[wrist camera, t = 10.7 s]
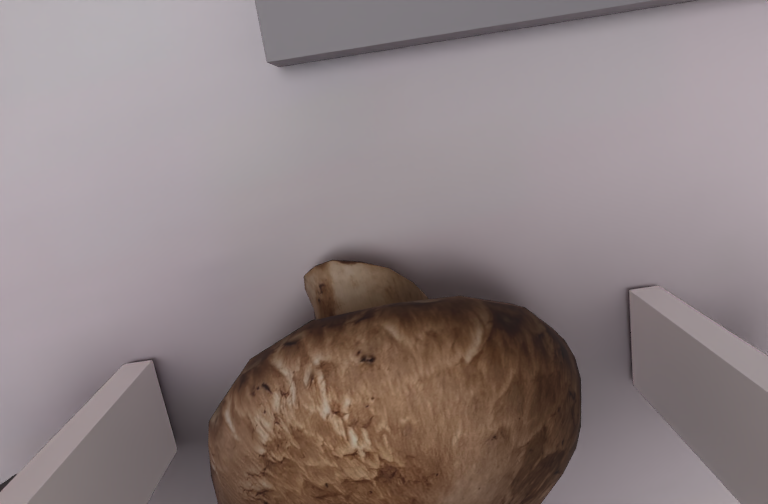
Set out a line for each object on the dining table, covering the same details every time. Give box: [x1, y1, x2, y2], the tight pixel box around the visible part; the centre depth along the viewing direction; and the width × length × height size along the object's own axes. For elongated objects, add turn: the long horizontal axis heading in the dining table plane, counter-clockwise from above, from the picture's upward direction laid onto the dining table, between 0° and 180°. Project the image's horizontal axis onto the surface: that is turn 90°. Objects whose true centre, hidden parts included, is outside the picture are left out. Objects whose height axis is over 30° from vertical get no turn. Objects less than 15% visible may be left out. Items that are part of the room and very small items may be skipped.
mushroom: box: [208, 260, 581, 504], centre depth 13 cm, size 8×8×6 cm
